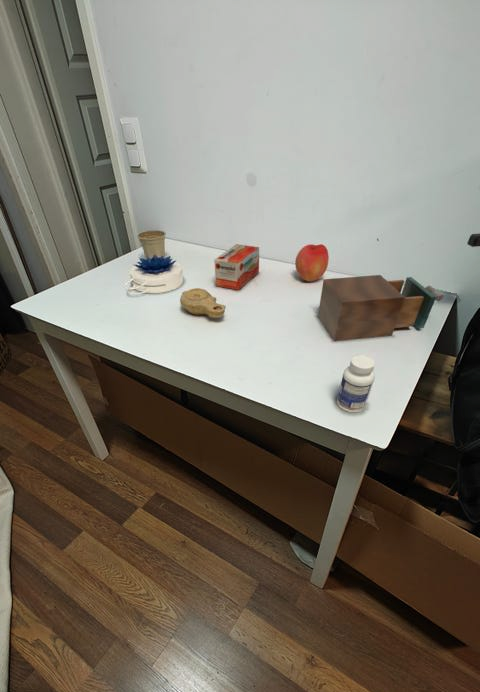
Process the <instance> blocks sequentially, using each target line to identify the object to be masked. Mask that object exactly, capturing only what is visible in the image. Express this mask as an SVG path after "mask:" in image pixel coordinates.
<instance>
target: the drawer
mask: <svg viewBox="0 0 480 692" xmlns="http://www.w3.org/2000/svg"><path fill="white" fill-rule="evenodd" d="M387 281H388V282H389V283H390V284H391V285H392V286H393V287H394V288H395V289H396V290H398V291H399V292H400V293H401V294H402V295H403V296H404V297H405V299H404V302H403V305H402V307H401V310H400V313H399V316H398V319H397V322H396V325H395V328H394V329H398V328H408V327H414V325H415V326H416V327H417V328H418V329H425V326H426V323H427V321H428V318H429V317H430V313H431V311H432V308H433V306H434V303H435V301H436V302H440V301H442V300H443V299H444V295H443V294H442V293H440V292H439V291H438V290H437V289H435V288H434V287H433V286H431V285H427V286H426V287H425V286H424V285H422V284H421V283H419V282H418V281H417V280H416V279H415V278H413V277H412V276H407V277H406V279H405V280H404V279H397V280H395V279H393V280H387Z"/></svg>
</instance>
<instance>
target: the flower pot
mask: <svg viewBox="0 0 480 692" xmlns="http://www.w3.org/2000/svg"><path fill="white" fill-rule="evenodd" d="M166 235H167V233H166V231H164V230H161V229H149V230H143V231H141V232H138V233H137V234H136V237H137V238H138V241H139V242H140V245H141V247H142V250H143V253H144V255H145V259H146V258H147V257H148V258H150V259H152V258H153V256H154V255H156V256H157V257H158V258H159V257H161V256H163V258H164V259H165V258H166V247H165V245H166V244H165V243H166V242H165V240H166ZM146 260H147V259H146Z"/></svg>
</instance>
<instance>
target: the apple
mask: <svg viewBox="0 0 480 692" xmlns="http://www.w3.org/2000/svg"><path fill="white" fill-rule="evenodd" d="M329 257H330V256H329V251H328V248H327V246H325V245H324V244H322V243H321V244H312V243H311V244H306V245H305V246H303V247H301V249H300V250H299V251H298V252H297V254H296V257H295V261H294V262H295V270H296V272H297V274H298V275H299V276H300V278H302V279H303V280H304V281H306V282H314V281H316V280H319V279H320V278H321V277H322V276H324V274H325V272H326V271H327V269H328V265H329V259H330V258H329Z"/></svg>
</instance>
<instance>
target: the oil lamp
mask: <svg viewBox="0 0 480 692" xmlns="http://www.w3.org/2000/svg"><path fill="white" fill-rule="evenodd" d="M179 303H180V305H181V306H182V308H184V309H185V310H187V312H189V313H190V314H191V315H195V316H196V315H198V316H200V315H203V314H204V315H207V316H208V317H209V318H216V319H218V318H221V317H222V316H224V314H225V311H226V307H227V306H226V305H225V304H221V303H219V302H218V303H217V297H215V296H212V294H211V293H210V292H208V290H206V289H204V288H200V287H199V288H198V287H197V288H196V287H195V288H191V289H188V290H184V291H182V293H181V296H180V298H179Z"/></svg>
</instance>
